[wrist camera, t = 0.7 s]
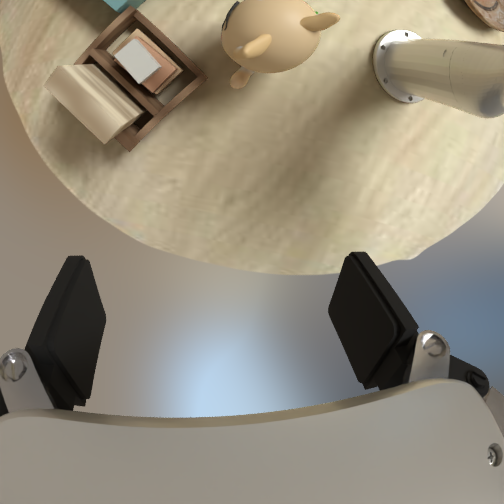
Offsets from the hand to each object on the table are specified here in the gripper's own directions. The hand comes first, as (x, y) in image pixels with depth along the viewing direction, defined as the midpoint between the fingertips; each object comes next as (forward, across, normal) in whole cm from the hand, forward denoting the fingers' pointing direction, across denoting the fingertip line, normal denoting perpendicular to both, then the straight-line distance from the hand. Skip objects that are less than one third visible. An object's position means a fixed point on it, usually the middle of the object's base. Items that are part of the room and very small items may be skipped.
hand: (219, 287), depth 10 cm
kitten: (+34, -7, -13) cm, 37 cm away
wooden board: (+34, +12, -5) cm, 37 cm away
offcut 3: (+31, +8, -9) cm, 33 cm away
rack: (+34, +10, -8) cm, 36 cm away
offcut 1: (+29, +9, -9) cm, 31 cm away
